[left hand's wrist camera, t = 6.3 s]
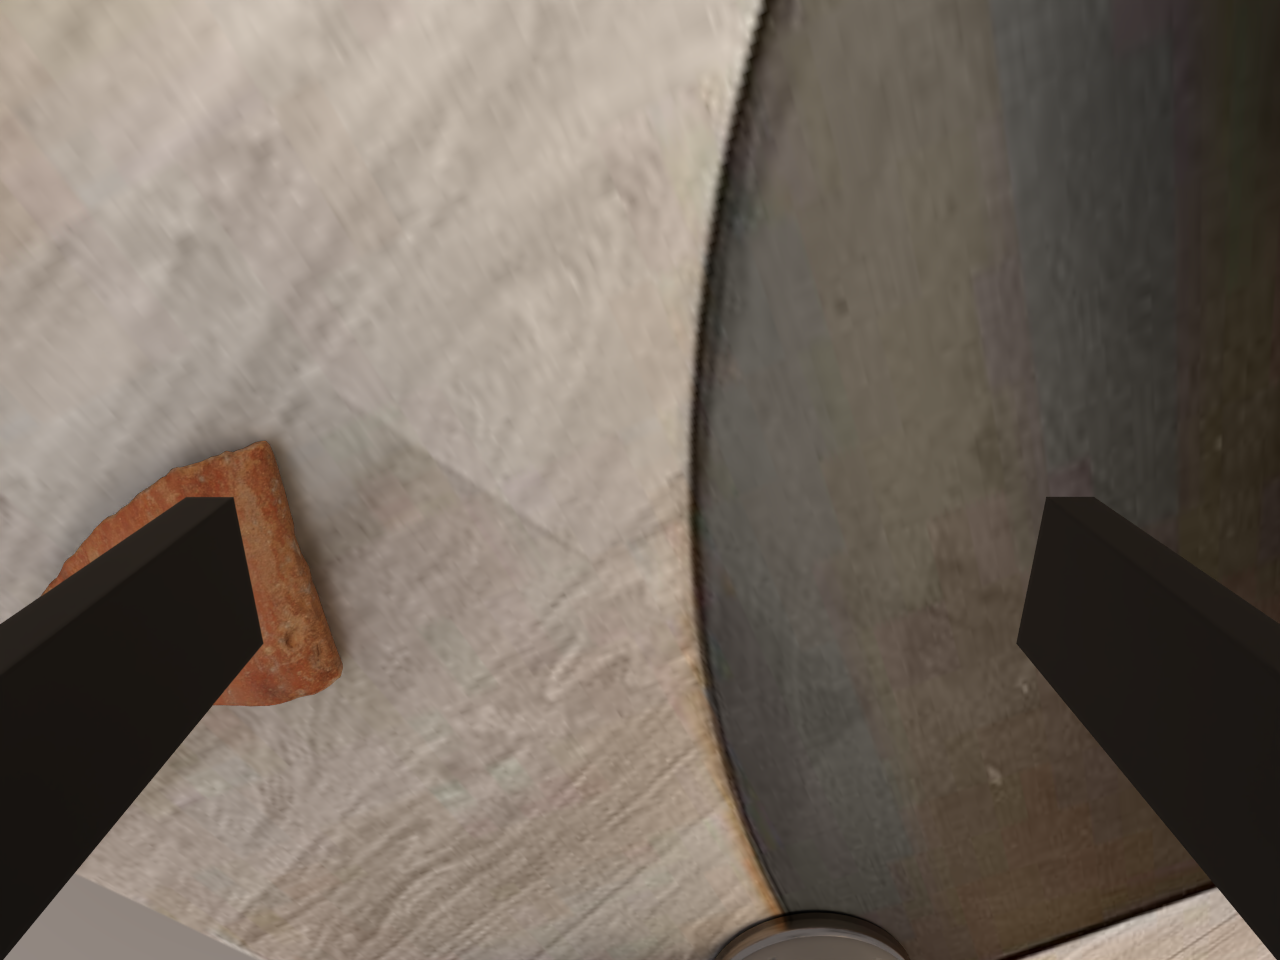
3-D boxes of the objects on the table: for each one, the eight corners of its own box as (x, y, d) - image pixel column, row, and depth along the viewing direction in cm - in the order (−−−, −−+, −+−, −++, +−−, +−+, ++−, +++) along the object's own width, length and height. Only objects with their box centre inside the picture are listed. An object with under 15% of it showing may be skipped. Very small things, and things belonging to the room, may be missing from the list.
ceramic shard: (-68, 497, 36) (259, 446, 38) (22, 470, 42) (299, 427, 44) (33, 770, 40) (329, 714, 41) (102, 707, 46) (356, 661, 47)
